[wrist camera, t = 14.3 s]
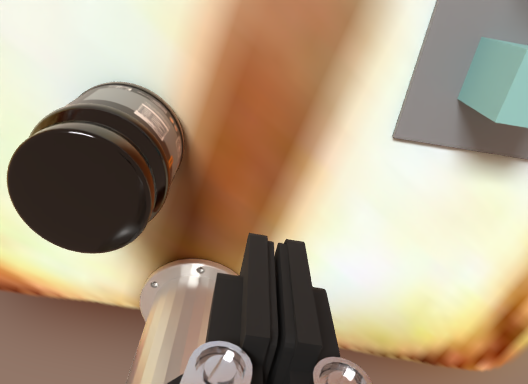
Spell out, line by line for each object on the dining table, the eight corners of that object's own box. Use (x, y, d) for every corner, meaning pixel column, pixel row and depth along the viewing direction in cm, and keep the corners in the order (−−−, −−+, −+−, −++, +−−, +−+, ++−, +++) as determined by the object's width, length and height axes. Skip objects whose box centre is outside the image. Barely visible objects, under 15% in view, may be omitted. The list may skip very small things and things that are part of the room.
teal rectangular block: (512, 108, 37) (560, 133, 31) (457, 98, 36) (495, 122, 30) (540, 47, 34) (598, 62, 28) (481, 36, 34) (527, 49, 28)
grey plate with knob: (533, 158, 39) (576, 187, 34) (392, 135, 38) (413, 162, 33) (614, -2, 33) (683, 3, 28) (448, -34, 32) (486, -37, 26)
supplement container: (70, 174, 40) (1, 246, 29) (72, 65, 35) (-10, 104, 25) (178, 196, 41) (149, 272, 30) (195, 93, 36) (167, 141, 26)
